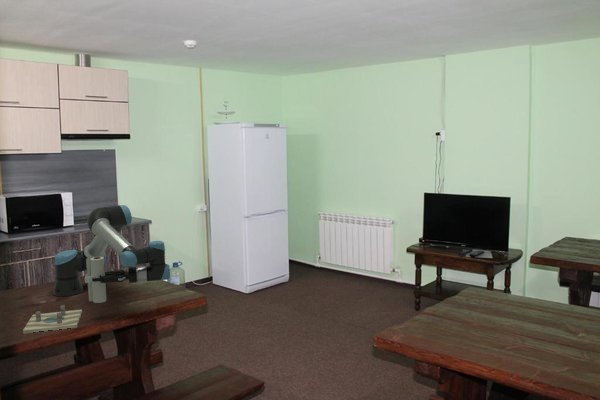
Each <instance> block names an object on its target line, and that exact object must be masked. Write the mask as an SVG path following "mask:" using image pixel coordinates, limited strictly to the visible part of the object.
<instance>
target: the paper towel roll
mask: <svg viewBox="0 0 600 400" xmlns="http://www.w3.org/2000/svg"><path fill="white" fill-rule="evenodd" d="M86 264H87V271H86V275H87V277H91V276H92V277H94V278H100V276H99V275H101V276H105V272H106V271H105V264H104V257H93V258H88V259H86ZM106 286H107V283H101V282H100V281H95V282H91V283H87V290H88V291H87V292H88V301H89V302H93V303H95V304H102V303H105V302H106V301H107V287H106Z"/></svg>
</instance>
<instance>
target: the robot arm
mask: <svg viewBox="0 0 600 400" xmlns="http://www.w3.org/2000/svg"><path fill="white" fill-rule="evenodd" d="M86 219H87V222H86V224H87V227H88V229H89V230H90V231H91V232H90V233H92V234H93V235H95V236H94V237H93V239H92V240H91V242H90V244H87V245H86V246H85V247H84V249H83V250H80V251H77V250H76V249H67V250H63V251H60V252H57V253H56V254H55V256H54V268H55V269H54V270H55V283H54V287H53V296H55V297H71V296H75V295H79V294H82V293H83V291H84V287H83V284H82V282H81V280H80V275H79V273H82V272H87V264H86V259H88V258H93V257H104V265H105V264H106V261H107V260H106V259H107V255H106V252H105V251H106V250H107V248H108V246H109V247H110V248H111V250H113V251H114V252H116V253H117V255H119V263H120V264H121V266H122V267H124V268H128V269H127V271H125V270H123V269H121V270H113V271H112V270H111V271H105V276H101V275H99V276H100V278H94V277H92V276H91V277H87V274H85V275H84V276H85V277H84V283H85V284H88V283H91V282H95V281H100V282H101V283H105V284H107V283H123V282H124V281H126V280H128V283H130V284H134V283H137V282H139V283H142V284H145V283H146V282H159V281H160V282H161V281H166V280H169V279H170V278H171V269H170V264H166V247H165V243H164V241H162V240H154V241H153V240H152V241H150V242H148V247H141V248H136V247H135V246H134V245H132V244H131V242H129V241H128V240H127V239H126V238H125V237H124V236H123V235H122V234H121V233H120V232H121V231H122V230H123V228H124V227H129V226H131V224H132V220H133V218H132V212H131V210H130V209H129V207H128V206H127V205H126V204H125V205H124V204H123V205H122V204H121V205H120V204H118V205H111V206H103V207H101V206H100V207H98V208H94V209H93V210H92V211H91V212H90V213H89V214H88V216H87V218H86ZM145 264H149V265H145ZM139 265H142V266H139Z"/></svg>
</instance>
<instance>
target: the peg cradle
mask: <svg viewBox="0 0 600 400" xmlns="http://www.w3.org/2000/svg"><path fill="white" fill-rule="evenodd" d="M82 313H83V309H74V310H66V305H65V304H61V305H60V311H55V312H54V311H53V312H47V313H41V311H40V310H36V311H35V314H32V315H31V317H30V319H28V322H27V323H26V325H25V327H24V328H23V329H22V334H23V335H25V334H33V332H36V333H40V332H39V331H44V332H49V331H48V330H53V331H58V330H59V329H62V330H67V328H71V329H77V328H78V326H79V323H80V320H81V318H82V317H81V316H82Z"/></svg>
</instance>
